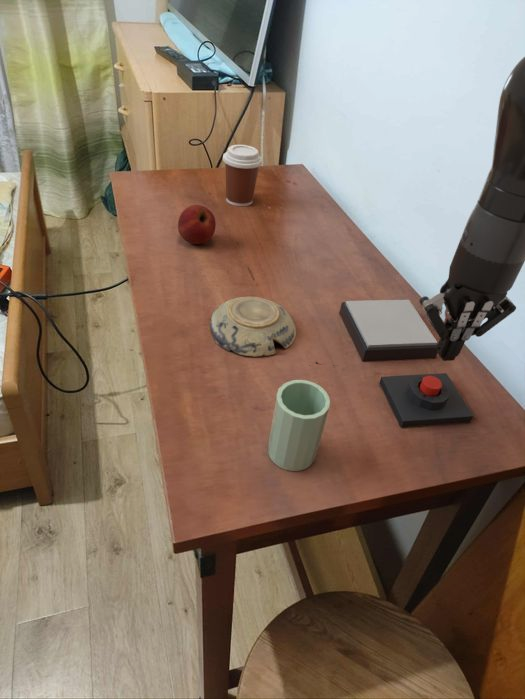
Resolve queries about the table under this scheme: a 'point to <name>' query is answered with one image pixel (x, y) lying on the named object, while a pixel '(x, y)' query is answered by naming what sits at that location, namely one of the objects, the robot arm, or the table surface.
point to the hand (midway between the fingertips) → (445, 356)
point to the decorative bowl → (252, 326)
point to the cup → (297, 424)
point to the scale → (387, 330)
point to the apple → (196, 224)
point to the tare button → (430, 385)
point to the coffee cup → (241, 174)
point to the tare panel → (424, 401)
